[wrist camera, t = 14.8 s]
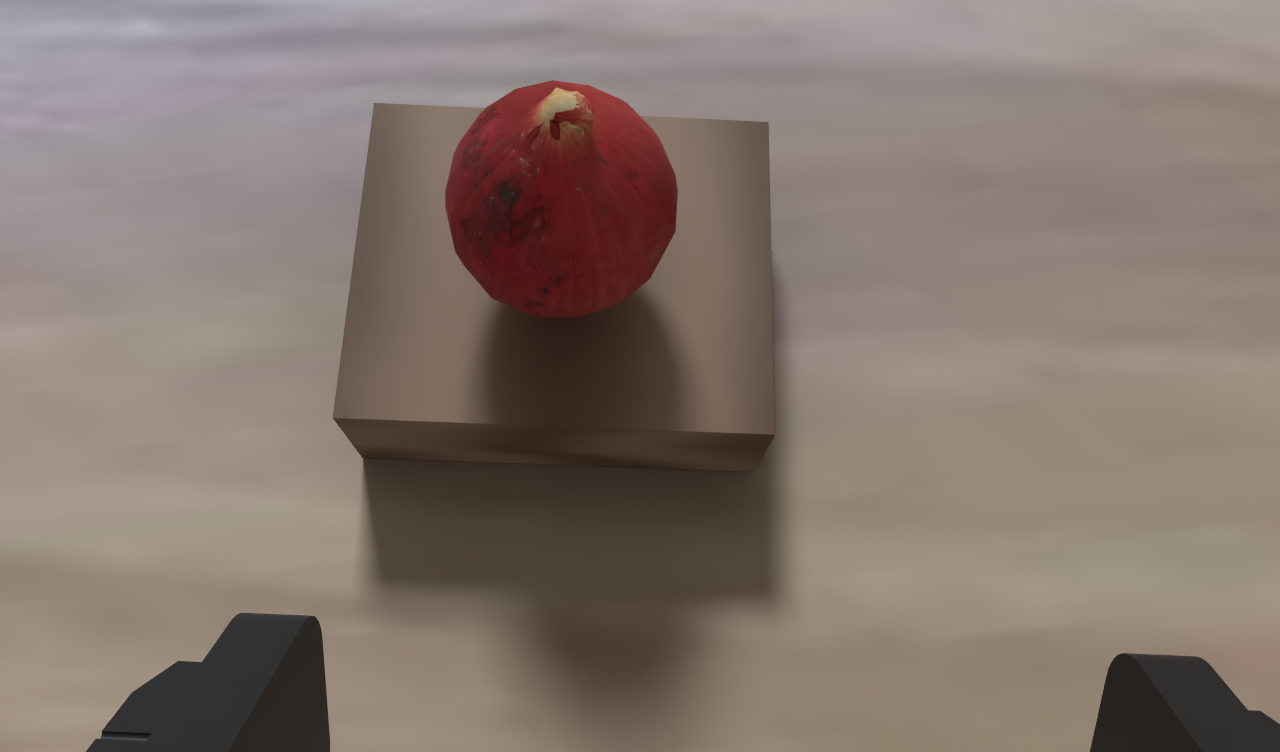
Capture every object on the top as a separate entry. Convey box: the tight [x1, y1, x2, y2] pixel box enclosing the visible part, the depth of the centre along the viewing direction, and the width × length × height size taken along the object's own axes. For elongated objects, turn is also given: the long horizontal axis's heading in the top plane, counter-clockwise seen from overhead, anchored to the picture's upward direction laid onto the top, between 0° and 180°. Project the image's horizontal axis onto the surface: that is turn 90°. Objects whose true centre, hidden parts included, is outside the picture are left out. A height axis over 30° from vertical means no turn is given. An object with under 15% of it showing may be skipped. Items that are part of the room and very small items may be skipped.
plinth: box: [333, 103, 775, 472], centre depth 32 cm, size 12×10×4 cm
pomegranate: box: [445, 81, 678, 317], centre depth 26 cm, size 6×6×8 cm
